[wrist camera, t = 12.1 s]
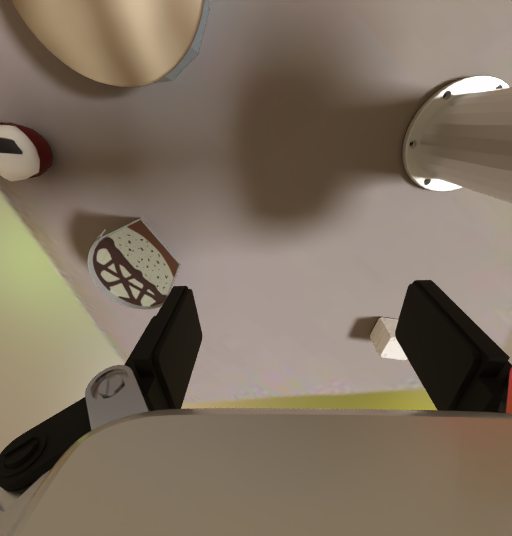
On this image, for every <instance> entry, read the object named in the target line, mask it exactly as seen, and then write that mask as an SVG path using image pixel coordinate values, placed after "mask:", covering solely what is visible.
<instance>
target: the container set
mask: <svg viewBox="0 0 512 536" xmlns="http://www.w3.org/2000/svg"><path fill="white" fill-rule="evenodd" d="M397 323H398V319H391V318H384V317H381V318H379V319H378V321H377V323H376V325H375V327H374V328H373V330H372V332H371V334H370V339H371V341H372V343H373V345H374V347H375V348H376V351H377V353H378V355H379V356H381V357H384V358H391V359H399V360H406V359H408V358H407V357H406V355H405V353H404V351H403V350H402V348H401V346H400V345H399V343H398V341H397V339H396V336H395V330H396V327H397Z"/></svg>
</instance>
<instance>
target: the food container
mask: <svg viewBox="0 0 512 536" xmlns="http://www.w3.org/2000/svg"><path fill="white" fill-rule="evenodd" d="M105 231H106V230H105V229H104V230H103V231H102V232H101V233H100V234H99V236H98V237H97V238H96V240H95V241H94V242H93V244H92V246H91V248H90V251H89V254H88V269H89V273H90V275H91V278H92V279H93V281H94V283H95V284H96V285H97V287H98V288H99V289H100V290H101V291H102V292H103V293H104V294H105V295H106V296H107V297H109V298H110V299H112V300H113V301H115V302H117V303H119V304H121V305H123V306H126V307H129V308H133V309H139V310H151V309H156V308H160V307H162V305H163V303H164V302H165V300H166V298H167V296H168V295H169V293H170V291H171V289H172V286H173V283H174V281H175V278H176V275H177V273H178V270H179V268H180V265H181V264H180V262H179V261H178V260H177V259H176V258H175V257H174V256H173V254H172V253H171V252H170V251H169V250H168V249H167V247H166V246H165V245H164V244H163V243H162V242H161V240H160V239H159V238H158V237H157V236H156V235H155V233H154V232H153V231H152V230H151V229H150V228H149V227H148V225H147V224H146V223H145V222H144V221H143V220H142V218H140V219H137V220H135V221H133V222H131V223H129V224H127V225H125V226H123V227H121V228H119V229H117V230H115V231H113V232H111V233H109V234H107V235H105V236H102V235H103V233H104V232H105Z"/></svg>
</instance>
